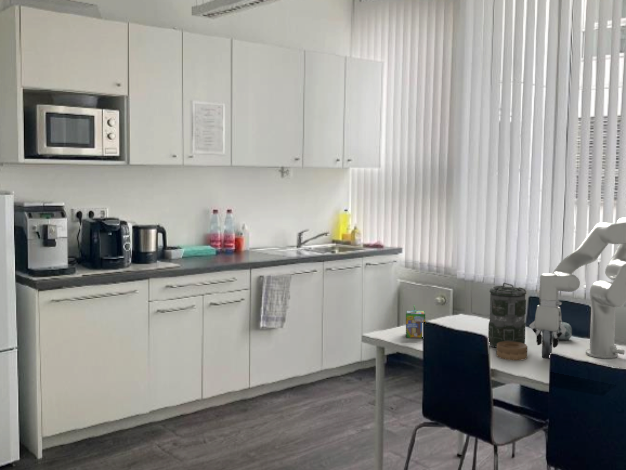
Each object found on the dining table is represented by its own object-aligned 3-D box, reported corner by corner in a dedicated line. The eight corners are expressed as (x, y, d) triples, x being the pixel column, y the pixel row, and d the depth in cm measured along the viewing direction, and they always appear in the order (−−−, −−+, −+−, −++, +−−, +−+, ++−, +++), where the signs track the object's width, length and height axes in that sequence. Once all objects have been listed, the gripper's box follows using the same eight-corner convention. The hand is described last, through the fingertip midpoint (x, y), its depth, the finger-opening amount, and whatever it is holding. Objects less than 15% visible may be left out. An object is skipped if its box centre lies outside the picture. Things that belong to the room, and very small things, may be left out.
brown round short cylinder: (530, 355, 297) (531, 344, 296) (520, 361, 287) (520, 349, 287) (503, 351, 304) (504, 339, 304) (492, 357, 295) (492, 345, 294)
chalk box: (425, 338, 327) (425, 307, 325) (405, 337, 328) (405, 306, 327) (425, 334, 336) (425, 303, 334) (405, 333, 337) (406, 302, 336)
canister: (481, 343, 318) (482, 281, 316) (510, 340, 324) (512, 279, 321) (502, 351, 304) (503, 287, 301) (532, 348, 309) (534, 285, 307)
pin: (553, 357, 295) (554, 324, 294) (549, 359, 292) (550, 325, 291) (543, 355, 297) (544, 322, 296) (540, 357, 294) (541, 324, 293)
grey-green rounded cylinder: (577, 331, 327) (569, 314, 324) (572, 344, 321) (564, 326, 318) (548, 334, 336) (541, 317, 333) (543, 346, 329) (536, 329, 326)
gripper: (572, 304, 290) (570, 347, 292) (531, 299, 301) (530, 340, 302) (566, 307, 284) (564, 350, 286) (524, 302, 295) (523, 344, 297)
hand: (547, 345), depth 294 cm, fingers open, 5 cm apart
